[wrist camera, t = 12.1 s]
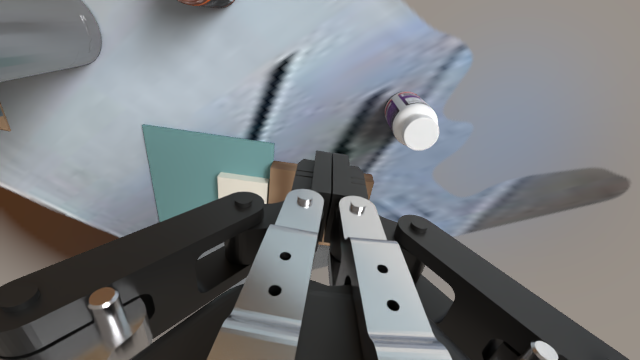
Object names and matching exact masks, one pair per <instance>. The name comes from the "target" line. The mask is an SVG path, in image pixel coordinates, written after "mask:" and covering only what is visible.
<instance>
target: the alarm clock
mask: <svg viewBox="0 0 640 360" xmlns="http://www.w3.org/2000/svg"><path fill="white" fill-rule="evenodd" d="M0 130H6V131H11V129H10V127H9V124H8V122H7V119H6V116H5V114H4V111H3V109H2V106H1V103H0Z"/></svg>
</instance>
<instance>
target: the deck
mask: <svg viewBox="0 0 640 360" xmlns="http://www.w3.org/2000/svg"><path fill="white" fill-rule="evenodd" d="M297 165H298V164H294V163H287V162H279V161H273V163H272V165H271V168H270V184H269V201H268V204H271V203H278V202H281V201H284V200H285V198H286V196H287V194H288V193H289V192H291V190H292V186H293V181H294V177H295V173H296V169H297ZM364 178H365V183H366V188H367V194H368V199H369V198H370V195H371V191H372V187H373V184H374V181H373V177H372V175H371V174H364ZM318 244H320V245H328V246H330V243H326V242H324V234H323V239H322V242H319V243H318Z"/></svg>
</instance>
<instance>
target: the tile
mask: <svg viewBox="0 0 640 360" xmlns="http://www.w3.org/2000/svg"><path fill="white" fill-rule="evenodd" d="M217 180H218V199H220V198H222V197H225V196H227V195H230V194H232V193H236V192H252V193H255V194H258V195H259V196H261V197H262V198H263V200H264V204H268V199H269V181H270V179H268V178H261V177H253V176H246V175H239V174H232V173H224V172H220V174H219V175H218V177H217Z"/></svg>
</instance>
